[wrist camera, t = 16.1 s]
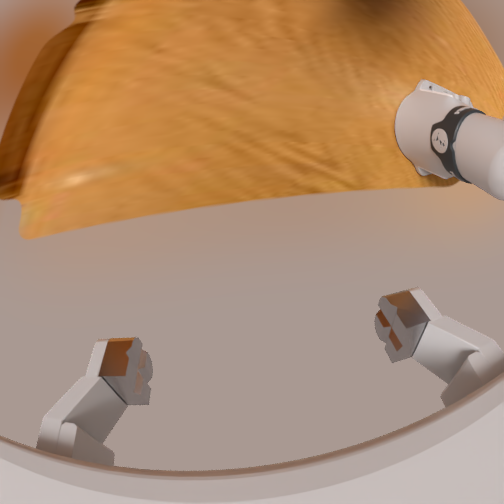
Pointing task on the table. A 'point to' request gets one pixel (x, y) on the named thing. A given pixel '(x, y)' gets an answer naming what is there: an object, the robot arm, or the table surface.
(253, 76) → the table surface
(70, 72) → the table surface
